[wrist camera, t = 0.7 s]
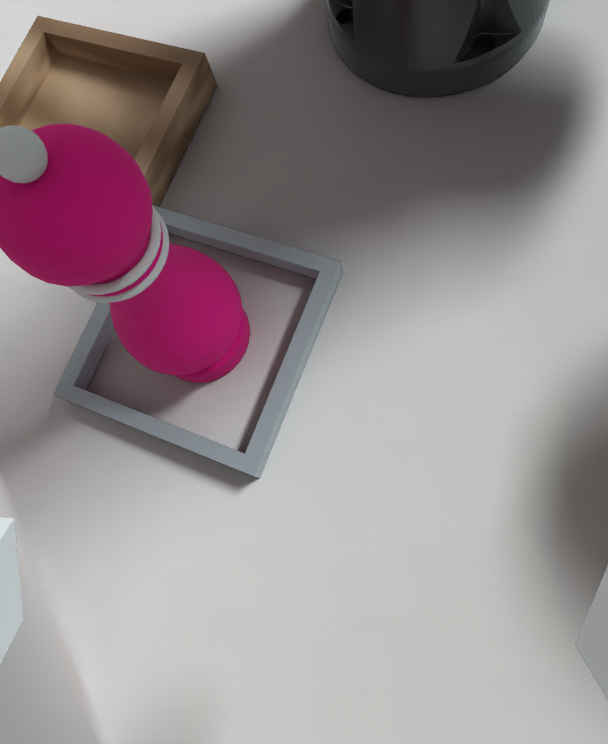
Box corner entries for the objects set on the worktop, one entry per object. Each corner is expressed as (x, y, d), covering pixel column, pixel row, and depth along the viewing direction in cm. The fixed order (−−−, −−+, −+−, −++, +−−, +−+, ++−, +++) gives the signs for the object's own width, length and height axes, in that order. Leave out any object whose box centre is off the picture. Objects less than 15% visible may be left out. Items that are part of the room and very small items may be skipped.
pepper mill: (131, 323, 38) (-133, 122, 19) (223, 264, 38) (51, 4, 19) (182, 412, 36) (-58, 288, 17) (278, 349, 36) (149, 154, 17)
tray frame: (155, 214, 40) (146, 203, 38) (342, 271, 37) (340, 261, 35) (66, 399, 37) (53, 394, 36) (259, 478, 34) (253, 476, 33)
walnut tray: (60, 48, 45) (37, 15, 42) (217, 85, 42) (204, 53, 39) (-24, 200, 42) (-54, 177, 40) (137, 252, 39) (116, 231, 36)
